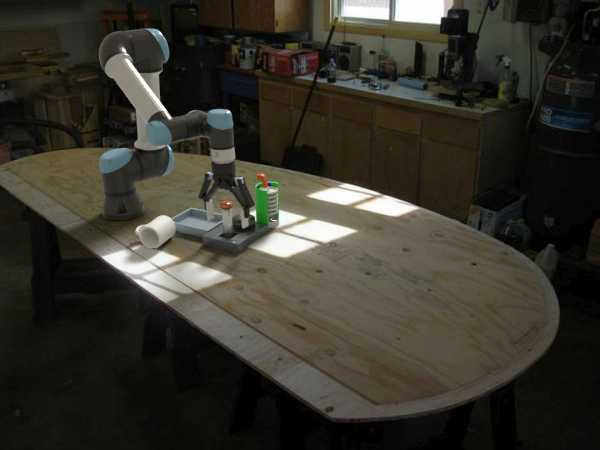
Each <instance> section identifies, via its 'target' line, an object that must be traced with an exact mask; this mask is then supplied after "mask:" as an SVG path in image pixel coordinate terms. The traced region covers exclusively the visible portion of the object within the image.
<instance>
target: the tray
mask: <svg viewBox="0 0 600 450" xmlns="http://www.w3.org/2000/svg"><path fill="white" fill-rule="evenodd" d="M170 218H171V219H172V220H173V221H174V223H175V226H176V232H177V233H181V234H186V235H190V236H194V237H199V238H202V239H203V236H204V235H205V234H207V233H208V232H210V231H212V230H213V229H215V228H217V227H218V226H220V225H221V224H223V222H222V213H218V212H215V211H214V219H212V220H210V221H208V220H207V210H205V209H200V208H195V207H188V208H187V209H186V210H185V209H184V211H181V212H180V213H177V214H176V215H175V216H172V217H170Z"/></svg>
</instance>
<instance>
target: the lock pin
mask: <svg viewBox="0 0 600 450" xmlns="http://www.w3.org/2000/svg"><path fill="white" fill-rule="evenodd" d="M219 207H220V209H221V214H222V222H223V236H224V238H228V239H231V238H233V223H232V217H233V213H232V212H233V211H232V208H233V202H232V201H230V200H223V201H221V202H220V203H219Z"/></svg>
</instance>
